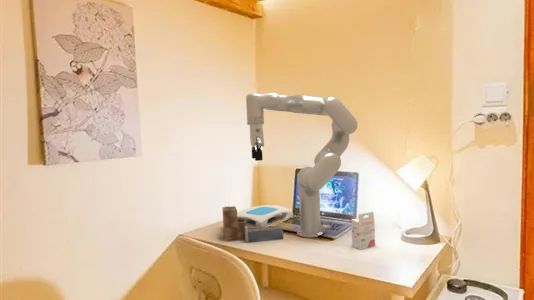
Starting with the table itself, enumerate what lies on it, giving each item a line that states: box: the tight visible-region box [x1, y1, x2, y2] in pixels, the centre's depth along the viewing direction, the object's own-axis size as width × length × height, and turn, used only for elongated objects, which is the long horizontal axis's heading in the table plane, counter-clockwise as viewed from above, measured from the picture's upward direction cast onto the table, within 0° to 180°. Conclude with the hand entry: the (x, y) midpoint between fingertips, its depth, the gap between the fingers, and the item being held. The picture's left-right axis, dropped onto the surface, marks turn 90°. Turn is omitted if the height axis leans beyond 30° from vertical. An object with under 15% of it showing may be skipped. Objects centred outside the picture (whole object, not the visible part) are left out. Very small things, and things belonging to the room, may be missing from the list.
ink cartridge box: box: [350, 211, 376, 250], centre depth 159 cm, size 9×5×15 cm, turn 117°
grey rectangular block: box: [244, 225, 284, 244], centre depth 173 cm, size 17×4×7 cm, turn 100°
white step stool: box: [237, 204, 293, 229], centre depth 204 cm, size 21×28×6 cm
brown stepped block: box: [222, 206, 246, 242], centre depth 184 cm, size 10×22×14 cm, turn 10°
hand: (257, 159), depth 172 cm, fingers open, 9 cm apart
